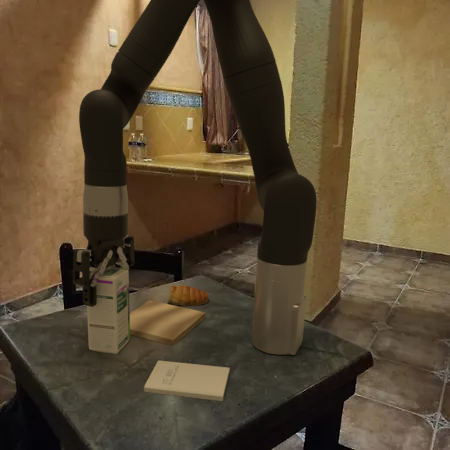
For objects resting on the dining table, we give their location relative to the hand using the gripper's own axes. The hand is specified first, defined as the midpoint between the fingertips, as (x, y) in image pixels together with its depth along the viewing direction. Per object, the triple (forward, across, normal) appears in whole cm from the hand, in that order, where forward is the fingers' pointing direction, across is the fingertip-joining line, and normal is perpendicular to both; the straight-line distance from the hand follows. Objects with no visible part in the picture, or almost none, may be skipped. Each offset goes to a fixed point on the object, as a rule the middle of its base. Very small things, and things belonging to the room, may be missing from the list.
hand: (105, 297), depth 79 cm
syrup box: (+10, 0, -1) cm, 10 cm away
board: (+9, +12, -4) cm, 16 cm away
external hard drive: (+10, -4, -19) cm, 22 cm away
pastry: (+10, +26, -3) cm, 28 cm away
